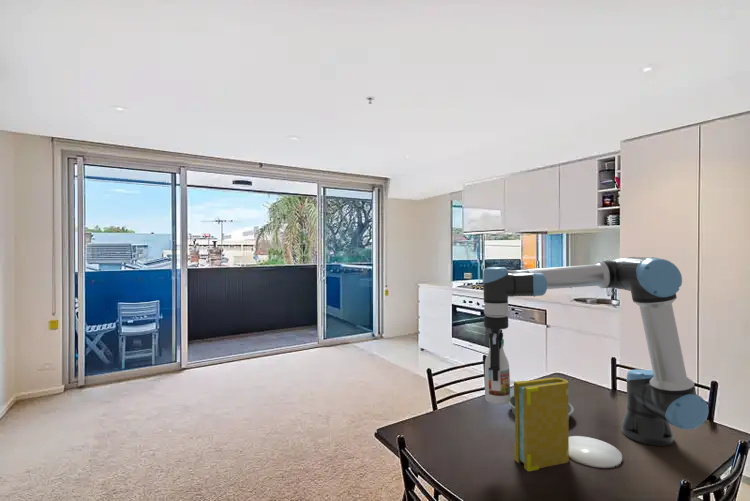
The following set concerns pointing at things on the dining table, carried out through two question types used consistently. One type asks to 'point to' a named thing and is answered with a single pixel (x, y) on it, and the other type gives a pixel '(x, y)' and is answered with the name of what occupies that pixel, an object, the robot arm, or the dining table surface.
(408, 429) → the dining table surface
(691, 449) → the dining table surface
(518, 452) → the book
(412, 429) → the dining table surface
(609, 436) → the dining table surface
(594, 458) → the white round plate
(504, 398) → the milk bottle
